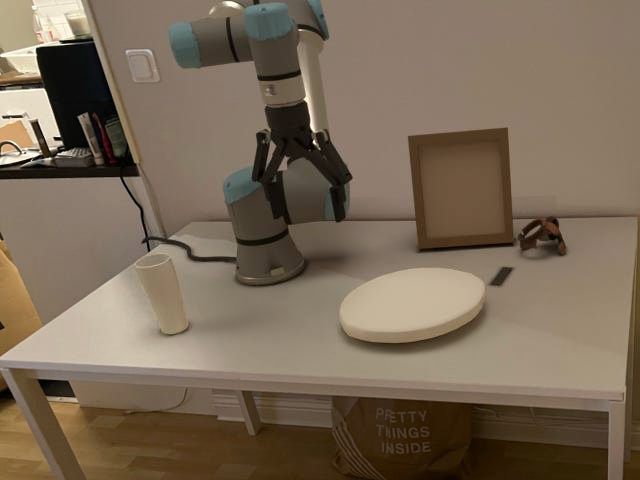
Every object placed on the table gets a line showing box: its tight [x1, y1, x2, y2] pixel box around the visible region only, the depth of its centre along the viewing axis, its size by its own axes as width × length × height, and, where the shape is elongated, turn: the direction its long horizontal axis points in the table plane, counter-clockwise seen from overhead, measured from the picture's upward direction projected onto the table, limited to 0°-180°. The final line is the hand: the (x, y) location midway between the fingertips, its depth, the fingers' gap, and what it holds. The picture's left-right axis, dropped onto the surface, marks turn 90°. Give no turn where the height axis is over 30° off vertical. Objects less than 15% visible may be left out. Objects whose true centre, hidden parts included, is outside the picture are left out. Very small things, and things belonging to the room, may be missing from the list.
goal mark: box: [490, 266, 513, 286], centre depth 149 cm, size 2×8×1 cm, turn 158°
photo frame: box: [407, 126, 515, 250], centre depth 163 cm, size 15×22×25 cm
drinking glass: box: [134, 252, 189, 335], centre depth 139 cm, size 7×7×15 cm
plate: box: [338, 267, 487, 344], centre depth 136 cm, size 28×6×27 cm
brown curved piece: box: [517, 215, 567, 256], centre depth 158 cm, size 12×10×8 cm
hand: (309, 218), depth 136 cm, fingers open, 13 cm apart
